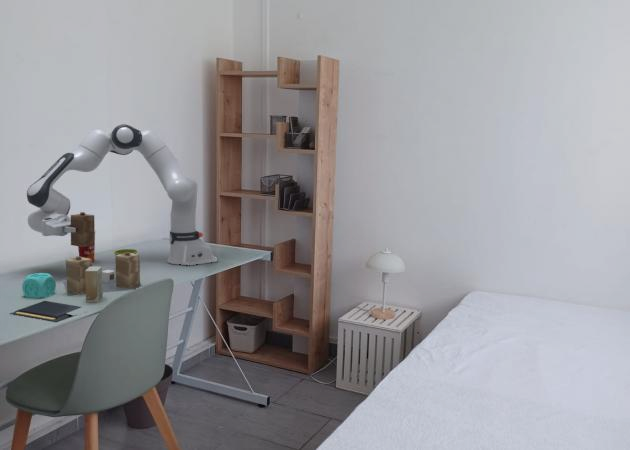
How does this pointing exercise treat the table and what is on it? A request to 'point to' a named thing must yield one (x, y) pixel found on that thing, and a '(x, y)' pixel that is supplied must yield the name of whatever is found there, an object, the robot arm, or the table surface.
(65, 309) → the dark grey book
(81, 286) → the light brown wooden canister
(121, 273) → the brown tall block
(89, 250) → the coffee cup
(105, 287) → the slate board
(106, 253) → the table surface
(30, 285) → the decorative dice
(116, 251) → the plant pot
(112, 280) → the letter cube
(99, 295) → the skincare box
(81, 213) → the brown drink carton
